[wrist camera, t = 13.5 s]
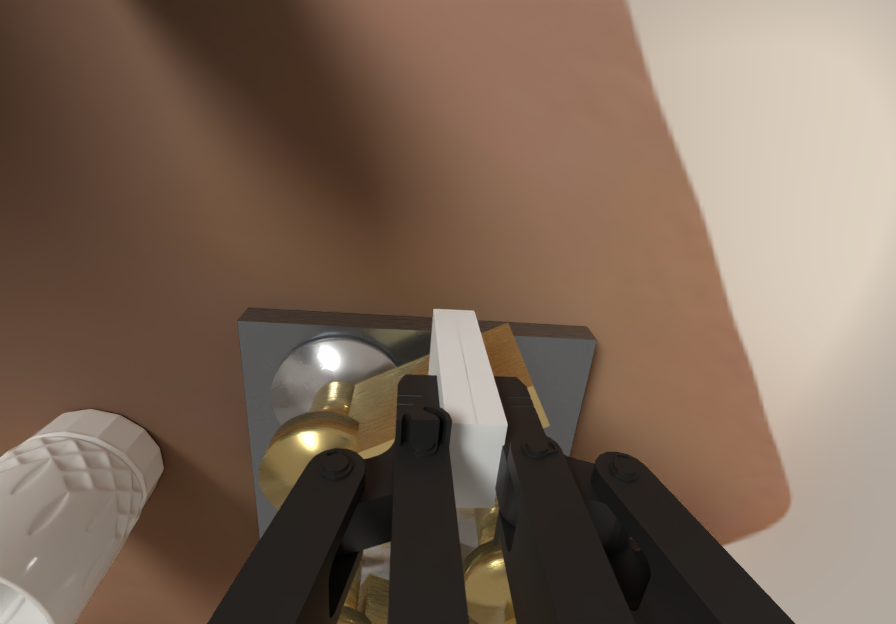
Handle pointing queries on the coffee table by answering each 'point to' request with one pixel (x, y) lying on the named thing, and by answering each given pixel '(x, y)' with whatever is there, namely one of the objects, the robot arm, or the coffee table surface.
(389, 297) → the coffee table surface
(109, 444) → the white cup
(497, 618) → the foot screw
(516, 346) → the foot screw
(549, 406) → the plate
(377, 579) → the foot screw
